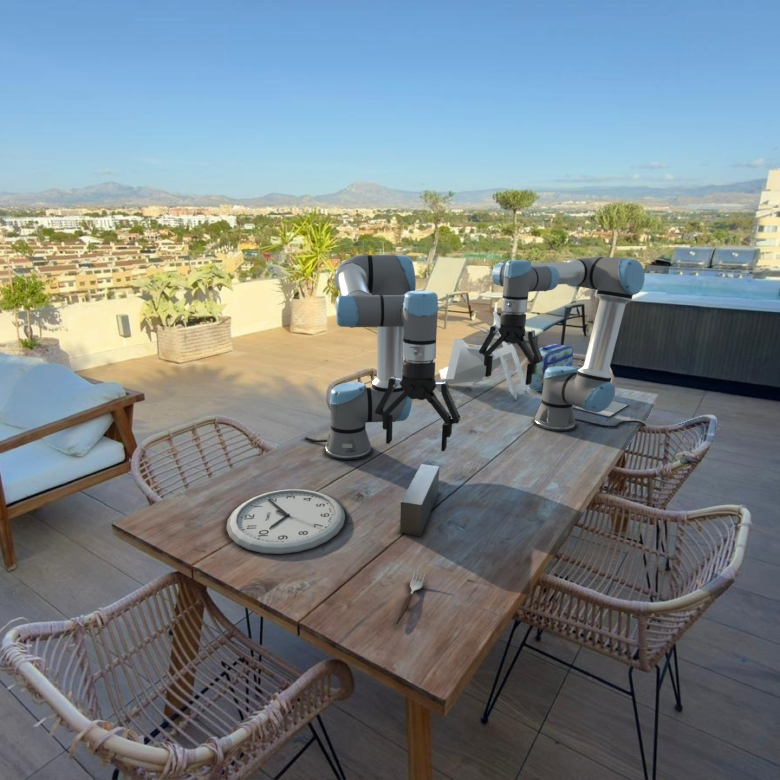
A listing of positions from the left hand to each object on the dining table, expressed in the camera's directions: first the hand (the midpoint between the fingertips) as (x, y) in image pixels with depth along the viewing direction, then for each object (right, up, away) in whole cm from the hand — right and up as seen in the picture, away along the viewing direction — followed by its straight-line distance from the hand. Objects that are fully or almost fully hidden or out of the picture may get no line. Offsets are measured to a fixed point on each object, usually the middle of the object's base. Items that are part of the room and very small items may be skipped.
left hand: (416, 445), depth 126 cm
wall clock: (-33, -20, +9) cm, 40 cm away
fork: (-2, -30, -19) cm, 35 cm away
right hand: (+31, +17, +39) cm, 52 cm away
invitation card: (+85, +6, +100) cm, 132 cm away
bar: (+2, -19, +14) cm, 24 cm away
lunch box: (+70, +14, +125) cm, 144 cm away
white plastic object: (+35, +12, +117) cm, 123 cm away
